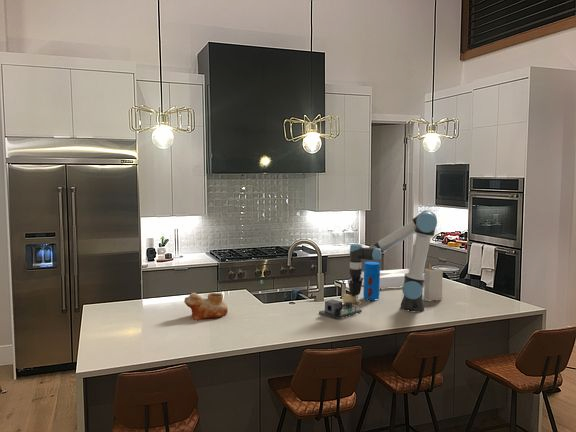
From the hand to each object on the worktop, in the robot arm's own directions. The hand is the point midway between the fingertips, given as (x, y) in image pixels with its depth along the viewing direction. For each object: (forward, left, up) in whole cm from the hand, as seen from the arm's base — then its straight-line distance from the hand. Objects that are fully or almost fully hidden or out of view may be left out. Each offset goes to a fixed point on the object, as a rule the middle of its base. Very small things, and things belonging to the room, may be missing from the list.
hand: (354, 304), depth 336 cm
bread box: (+27, -75, -4) cm, 80 cm away
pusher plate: (-2, +11, -1) cm, 12 cm away
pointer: (-6, +13, 0) cm, 14 cm away
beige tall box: (-18, -61, -4) cm, 64 cm away
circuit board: (0, +13, -3) cm, 14 cm away
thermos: (+10, -29, -3) cm, 31 cm away
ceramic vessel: (+47, +81, -3) cm, 94 cm away
